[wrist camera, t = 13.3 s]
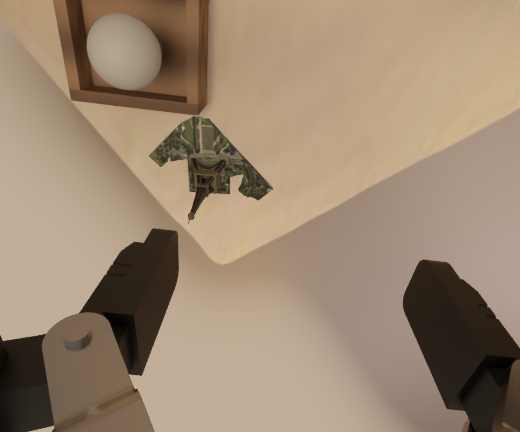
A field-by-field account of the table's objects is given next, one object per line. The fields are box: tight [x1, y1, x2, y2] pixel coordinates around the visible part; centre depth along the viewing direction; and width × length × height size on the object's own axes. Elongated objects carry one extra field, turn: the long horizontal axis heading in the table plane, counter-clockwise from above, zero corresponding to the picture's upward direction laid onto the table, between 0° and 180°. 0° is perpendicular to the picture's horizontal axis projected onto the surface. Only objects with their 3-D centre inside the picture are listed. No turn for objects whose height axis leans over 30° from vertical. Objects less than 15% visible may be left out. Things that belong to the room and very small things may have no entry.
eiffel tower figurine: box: [149, 116, 273, 223], centre depth 40 cm, size 15×10×13 cm
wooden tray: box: [53, 0, 208, 115], centre depth 35 cm, size 12×14×5 cm
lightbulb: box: [87, 13, 164, 90], centre depth 31 cm, size 6×6×11 cm
